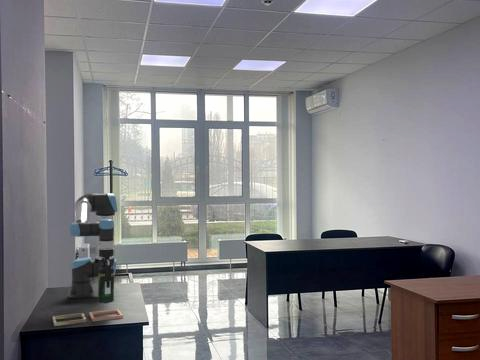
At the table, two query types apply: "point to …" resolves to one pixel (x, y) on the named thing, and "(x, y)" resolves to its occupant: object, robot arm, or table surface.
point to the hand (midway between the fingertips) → (106, 291)
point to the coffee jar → (101, 286)
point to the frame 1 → (69, 317)
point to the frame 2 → (106, 316)
